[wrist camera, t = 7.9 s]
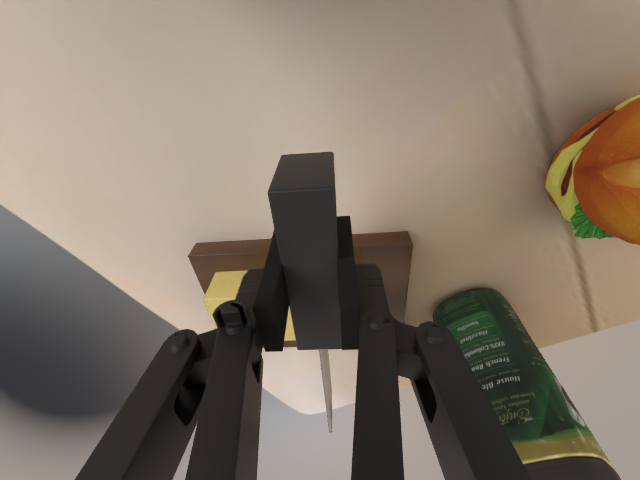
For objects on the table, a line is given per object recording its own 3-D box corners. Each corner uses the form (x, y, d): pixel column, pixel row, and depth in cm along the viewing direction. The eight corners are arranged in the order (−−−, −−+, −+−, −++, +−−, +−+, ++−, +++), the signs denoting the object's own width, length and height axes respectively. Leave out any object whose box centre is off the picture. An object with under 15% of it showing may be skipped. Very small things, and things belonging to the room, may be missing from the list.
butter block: (215, 271, 28) (202, 299, 25) (321, 266, 27) (320, 294, 24) (232, 314, 31) (222, 342, 28) (326, 310, 30) (326, 339, 28)
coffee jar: (419, 306, 33) (495, 545, 18) (491, 274, 30) (659, 530, 15) (455, 348, 37) (541, 570, 22) (521, 324, 34) (674, 562, 19)
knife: (280, 154, 15) (266, 191, 11) (333, 151, 15) (335, 187, 11) (316, 389, 27) (314, 440, 24) (344, 388, 27) (347, 440, 24)
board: (195, 243, 28) (187, 255, 27) (408, 231, 27) (413, 244, 25) (233, 334, 36) (228, 348, 35) (398, 329, 35) (401, 343, 33)
